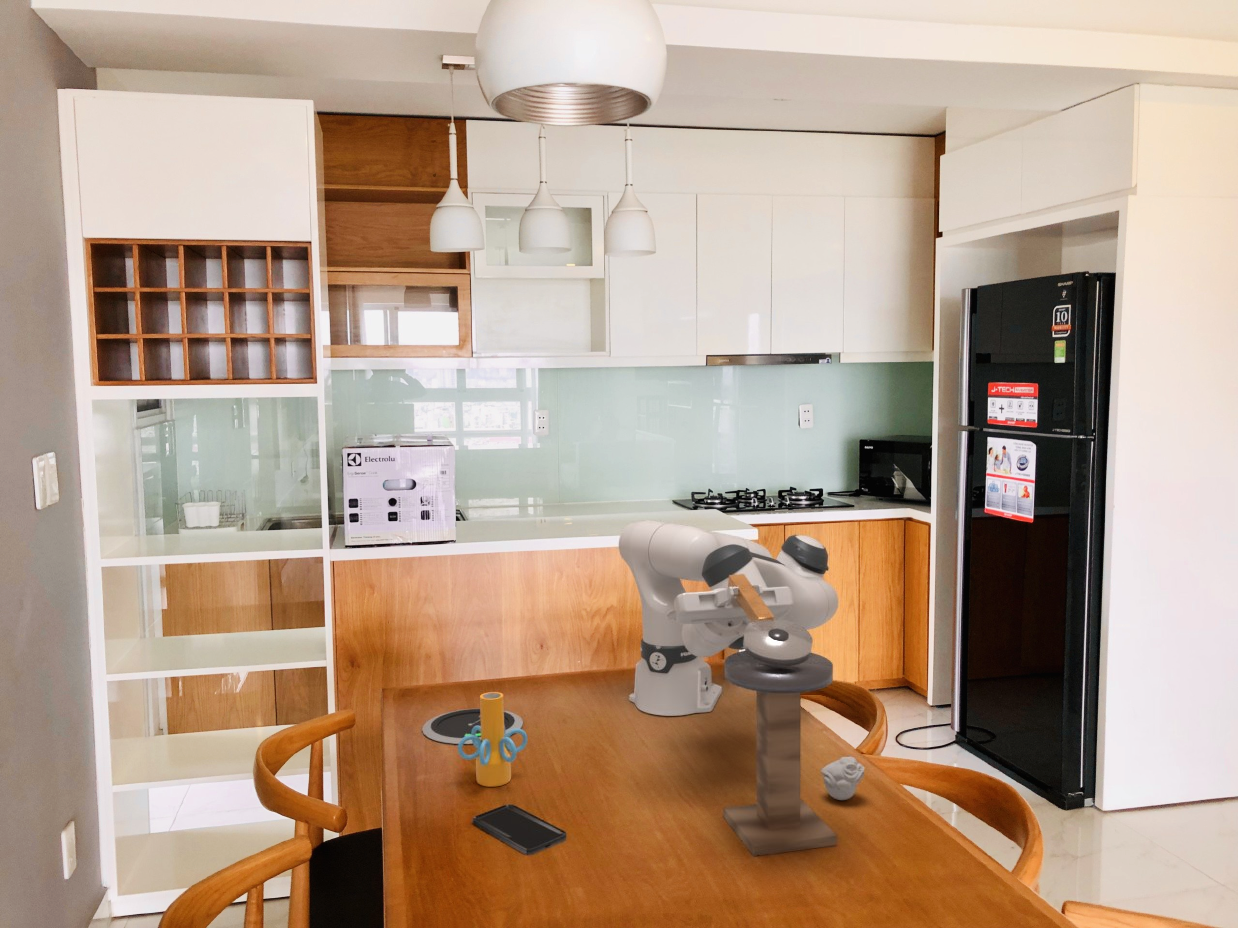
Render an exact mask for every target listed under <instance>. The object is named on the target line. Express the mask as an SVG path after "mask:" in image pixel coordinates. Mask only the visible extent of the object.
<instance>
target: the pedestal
mask: <svg viewBox="0 0 1238 928" xmlns="http://www.w3.org/2000/svg"><path fill="white" fill-rule="evenodd" d="M724 678H725V680H727V681H728V682H729V683H731V684H732V685H734V686H737V687H740V688H741V689H742V688H743V689H746V690H750V691H753V692H756V694H755V695H756V699H755V700H756V701H755V702H756V704H755V705H756V707H755V708H756V723H755V724H756V803H752V804H751V803H750V804H744V805H734V806H727V807H726V806H725V807H723V812H722V813H723V818H724V820H725V821H726V822H727V824H728V825H729V826H730V827H731V828H732V831H734V833H735V834H736V836H737V838H739V839H740V840H742V841H743V842H742V841H741V842H742V844H744V846H745V848H747V850H748V851H749V852H750V853H751V855H752V856H753V857H757V855H760V856H767V855H774V854H775V855H776V854H780V853H781V854H782V853H789V852H797V851H804V850H811V849H817V848H818V849H819V848H820V849H821V848H826V847H827V848H828V847H834V846H838V835H837V834H836V833H835V832H834V831H833V829H832V828H831V827H830V826H828V824H826V823H825V822H824V820H823V819H821V818H820V816H818V815H817V813H815V812H814V810H812V809H811V808H810V807H809V805H807V803H805V802H804V800H803V799H802V798H801V756H802V755H801V746H802V745H801V739H802V738H801V734H802V733H801V732H802V731H801V730H802V728H801V727H802V725H801V718H802V717H801V715H802V714H801V710H802V708H801V705H802V704H801V703H802V701H801V699H802V698H801V696H802V695H801V693H808V692H813V691H817V690H820V689H824V688H826V687H828V686H829V685H832V682H833V680H834V664H833V662H832V661H831V660H830V659H829V658H827V657H825V656H824V655H820V654H817V653H813V652H811V655H810V657H809V658H808V659H807V660H806V661H805V662H803V663H801V664H798V665H793V666H776V665H771V664H767V663H764V662H761V661H759V660H757V659H755V658H753V657H752V656H751V655H749V654H748V653H747V652H746V650H743V651H742V650H740V651H738V652H735V653H733V654H730V655H729V656H727V657H726V658H725V660H724ZM766 854H767V855H766Z"/></svg>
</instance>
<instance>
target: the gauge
mask: <svg viewBox="0 0 1238 928" xmlns="http://www.w3.org/2000/svg"><path fill="white" fill-rule="evenodd" d="M504 725H505V729H506V734H507V732H509V731H510V730H512V729H515V728H519V729H522V728H523V725H524V721H523V717H522V718H521V716H520V715H518V714H516V713H514V712H512V711H509V710H505V709H504ZM475 726H481V718H480V708H467V709H465V708H464V709H458V710H454V711H449V712H444V713H441V714H439V715H437V716H434V717H432V718H430V719H429V720H427V721H426V722H425V723H424V724H423V726H422V729H421V733H422V735H423V736H424V737H425V738H427V739H428V740H430V741H432V742H435V743H439V744H443V745H451V746H458V744H459V742H460V741H461V739H462V738H464V737H465V736H468V735H471V732H472V729H473V728H474V727H475ZM522 730H523V729H522ZM516 734H517V733H514V734H512V735H511V736H510V737H509V738H511V737H513V736H514V735H516ZM476 736H477V737H479V738H480V739H481V732H480V731H479V730H477V731H476ZM463 746H474V744H473V742H472V740H468V741H466V742H465V743H464V744H463Z"/></svg>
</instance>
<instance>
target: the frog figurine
mask: <svg viewBox="0 0 1238 928" xmlns="http://www.w3.org/2000/svg"><path fill="white" fill-rule="evenodd" d="M865 769H866V768H865V766H863V764H862V763H860V762H858V760H857V759H856V758H855V756H842V757H840V758H839V759H838V760H835V761H832V762H831V763H829V764H827V765H825V766H824V767H823V768H822V769H821V771H820V773H821V774H822V775H823V782H824V785H825V789H826V792H827V793H828V794H829V795H830V797H832V798H833V799H835V800H839V801H846V800H849V799H852V797H853V796H854V795H855V793H856V791H857V786H858V785H857V784H859V783H861V781H862V779H864V776H865V772H864V771H865Z"/></svg>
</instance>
